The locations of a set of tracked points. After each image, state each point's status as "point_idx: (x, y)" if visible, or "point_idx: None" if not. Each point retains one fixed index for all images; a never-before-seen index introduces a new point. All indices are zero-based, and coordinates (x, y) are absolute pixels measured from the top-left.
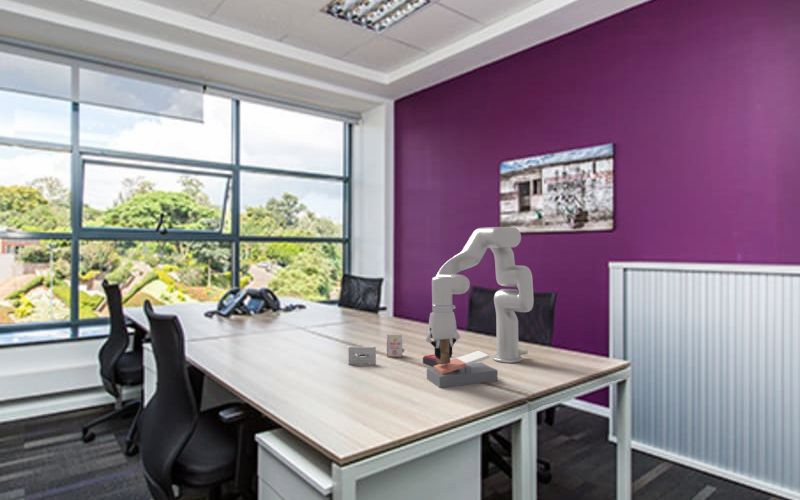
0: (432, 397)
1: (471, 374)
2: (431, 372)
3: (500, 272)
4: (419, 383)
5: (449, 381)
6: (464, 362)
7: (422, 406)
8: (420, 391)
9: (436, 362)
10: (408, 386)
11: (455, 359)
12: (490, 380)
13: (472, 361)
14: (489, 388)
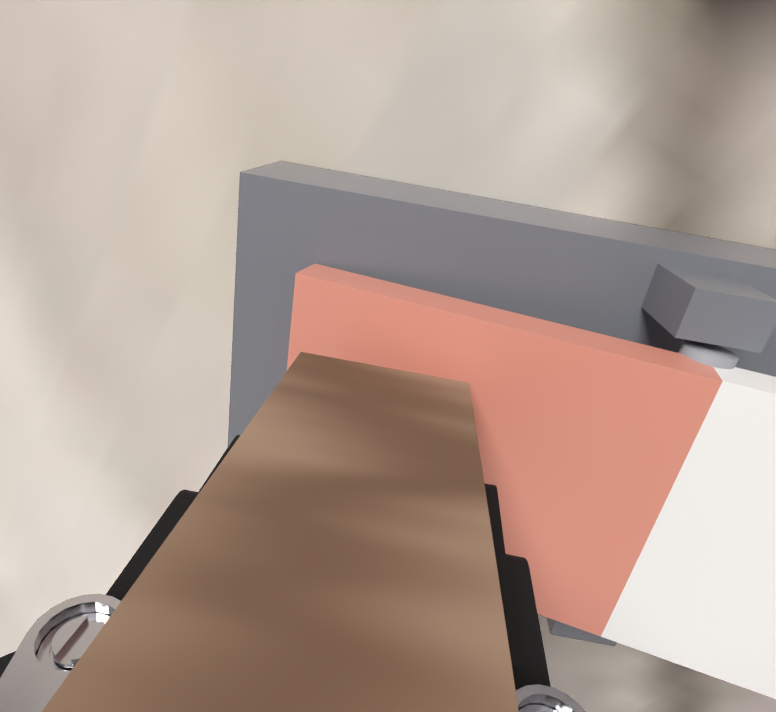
0: None
1: None
2: (237, 330)
3: None
4: (139, 266)
5: None
6: (612, 608)
7: (6, 650)
8: (75, 451)
9: (299, 360)
10: (8, 291)
11: (660, 410)
12: None
13: (706, 667)
14: (593, 645)
